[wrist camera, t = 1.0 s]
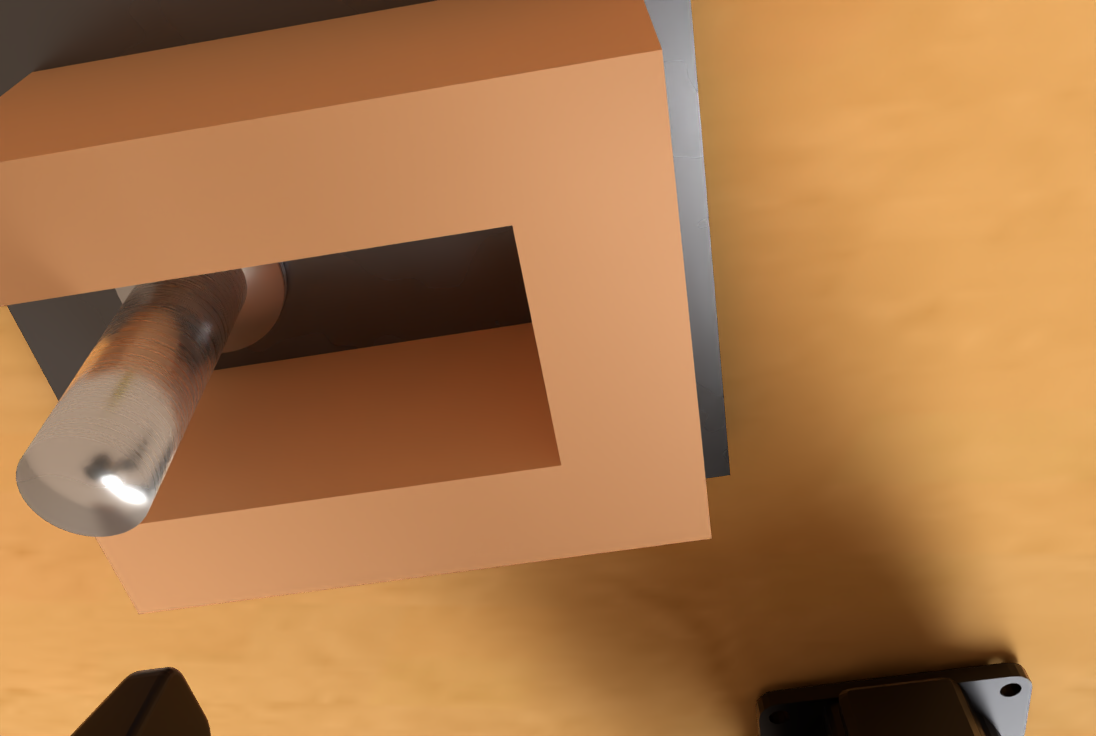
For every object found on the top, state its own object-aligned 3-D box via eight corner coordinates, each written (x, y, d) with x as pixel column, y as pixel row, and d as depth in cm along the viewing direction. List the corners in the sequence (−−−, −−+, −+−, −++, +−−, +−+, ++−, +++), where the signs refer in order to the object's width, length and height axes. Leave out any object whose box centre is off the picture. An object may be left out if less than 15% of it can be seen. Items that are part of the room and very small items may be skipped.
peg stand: (721, 443, 20) (791, 712, 15) (157, 521, 21) (32, 802, 16) (663, -235, 14) (748, -186, 8) (-153, -79, 15) (-544, 56, 9)
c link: (678, 385, 18) (711, 538, 15) (206, 453, 19) (138, 614, 16) (630, -34, 14) (661, 50, 11) (31, 71, 15) (-109, 180, 12)
